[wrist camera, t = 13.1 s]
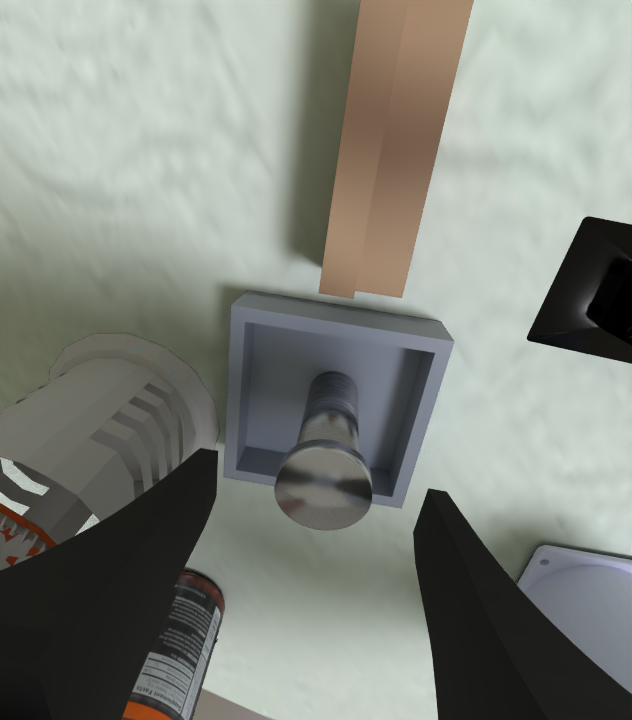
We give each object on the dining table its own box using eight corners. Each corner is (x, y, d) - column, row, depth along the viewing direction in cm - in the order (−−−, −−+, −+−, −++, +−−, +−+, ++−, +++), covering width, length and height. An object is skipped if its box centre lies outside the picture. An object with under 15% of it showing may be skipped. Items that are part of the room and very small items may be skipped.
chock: (394, 280, 16) (406, 307, 13) (326, 269, 17) (318, 293, 13) (453, 19, 13) (495, -55, 9) (365, 6, 13) (370, -72, 9)
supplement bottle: (189, 629, 29) (98, 872, 19) (130, 585, 27) (-5, 824, 17) (244, 603, 27) (177, 859, 17) (184, 554, 25) (68, 803, 15)
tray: (396, 473, 21) (401, 508, 19) (237, 446, 21) (223, 477, 19) (440, 321, 17) (454, 341, 15) (247, 290, 17) (231, 305, 15)
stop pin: (359, 425, 19) (361, 537, 13) (297, 414, 19) (269, 520, 13) (372, 369, 18) (382, 465, 12) (306, 358, 18) (280, 446, 12)
